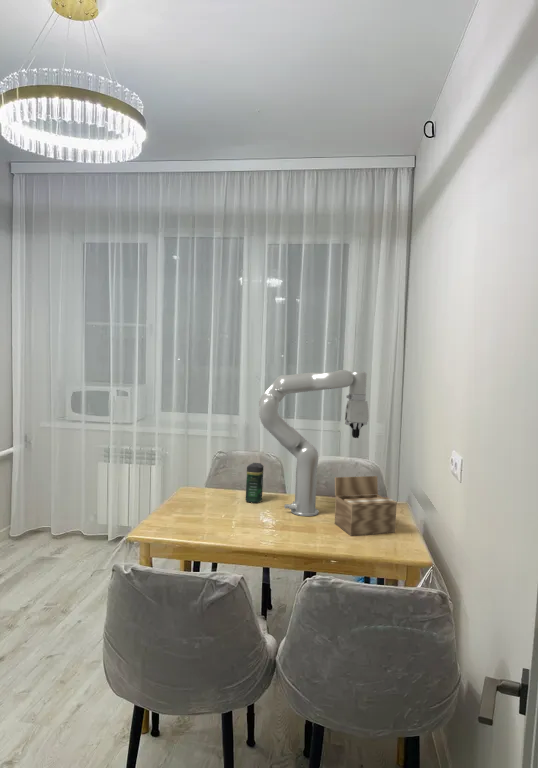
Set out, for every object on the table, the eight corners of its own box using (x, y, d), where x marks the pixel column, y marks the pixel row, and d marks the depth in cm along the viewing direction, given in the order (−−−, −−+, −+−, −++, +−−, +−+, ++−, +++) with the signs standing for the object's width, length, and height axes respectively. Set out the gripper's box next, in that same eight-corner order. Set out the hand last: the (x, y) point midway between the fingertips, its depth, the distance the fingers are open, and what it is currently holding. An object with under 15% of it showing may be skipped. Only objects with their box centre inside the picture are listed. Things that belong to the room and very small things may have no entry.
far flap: (335, 477, 225) (330, 476, 230) (335, 495, 224) (330, 494, 229) (377, 476, 230) (371, 475, 236) (377, 494, 230) (371, 492, 235)
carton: (350, 536, 209) (352, 503, 209) (334, 523, 224) (335, 493, 224) (395, 533, 215) (396, 501, 214) (376, 521, 230) (377, 492, 230)
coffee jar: (259, 504, 251) (261, 465, 250) (243, 502, 253) (245, 464, 252) (263, 499, 261) (265, 462, 260) (248, 497, 262) (249, 461, 261)
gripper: (345, 398, 234) (344, 439, 235) (375, 398, 238) (374, 438, 239) (338, 397, 241) (337, 436, 242) (368, 397, 246) (366, 436, 246)
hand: (355, 437), depth 241 cm, fingers closed
